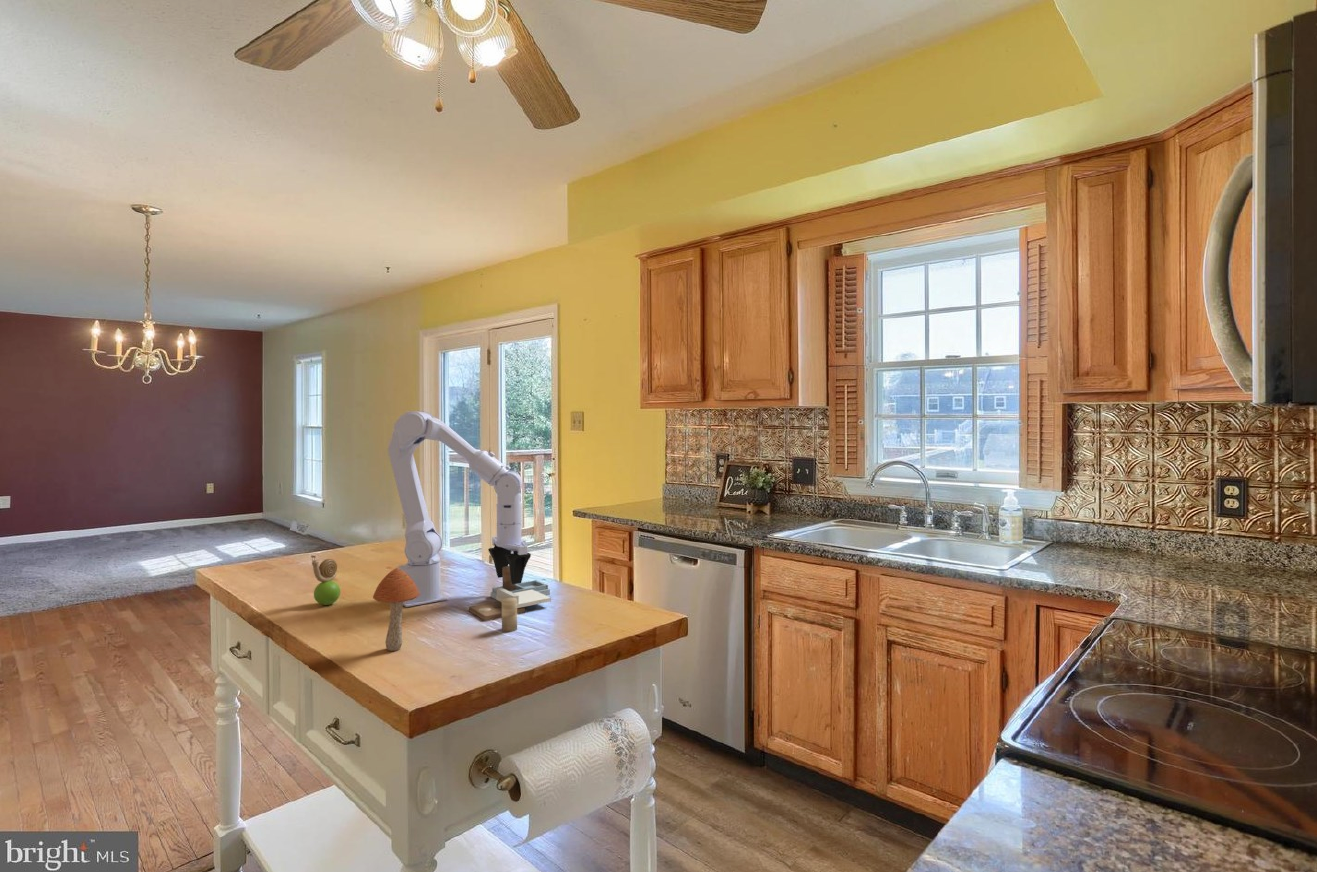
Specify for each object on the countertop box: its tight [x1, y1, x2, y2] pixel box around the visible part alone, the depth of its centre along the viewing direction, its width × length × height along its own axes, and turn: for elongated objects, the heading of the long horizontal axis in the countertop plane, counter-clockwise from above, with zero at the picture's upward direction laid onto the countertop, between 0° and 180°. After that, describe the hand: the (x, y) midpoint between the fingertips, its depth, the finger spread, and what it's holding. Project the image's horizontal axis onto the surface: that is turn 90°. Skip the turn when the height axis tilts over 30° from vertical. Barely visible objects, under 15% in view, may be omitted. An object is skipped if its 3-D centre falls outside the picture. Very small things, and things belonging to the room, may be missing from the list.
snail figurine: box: [310, 554, 342, 606], centre depth 147 cm, size 5×6×12 cm
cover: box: [495, 588, 552, 608], centre depth 145 cm, size 9×9×3 cm
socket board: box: [490, 579, 551, 600], centre depth 154 cm, size 12×7×2 cm, turn 129°
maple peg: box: [501, 598, 518, 633], centre depth 130 cm, size 3×3×6 cm
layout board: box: [468, 600, 526, 622], centre depth 141 cm, size 9×9×1 cm
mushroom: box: [372, 567, 419, 652], centre depth 119 cm, size 8×8×15 cm
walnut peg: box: [501, 565, 516, 591], centre depth 152 cm, size 3×3×6 cm
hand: (509, 580), depth 152 cm, fingers open, 7 cm apart
